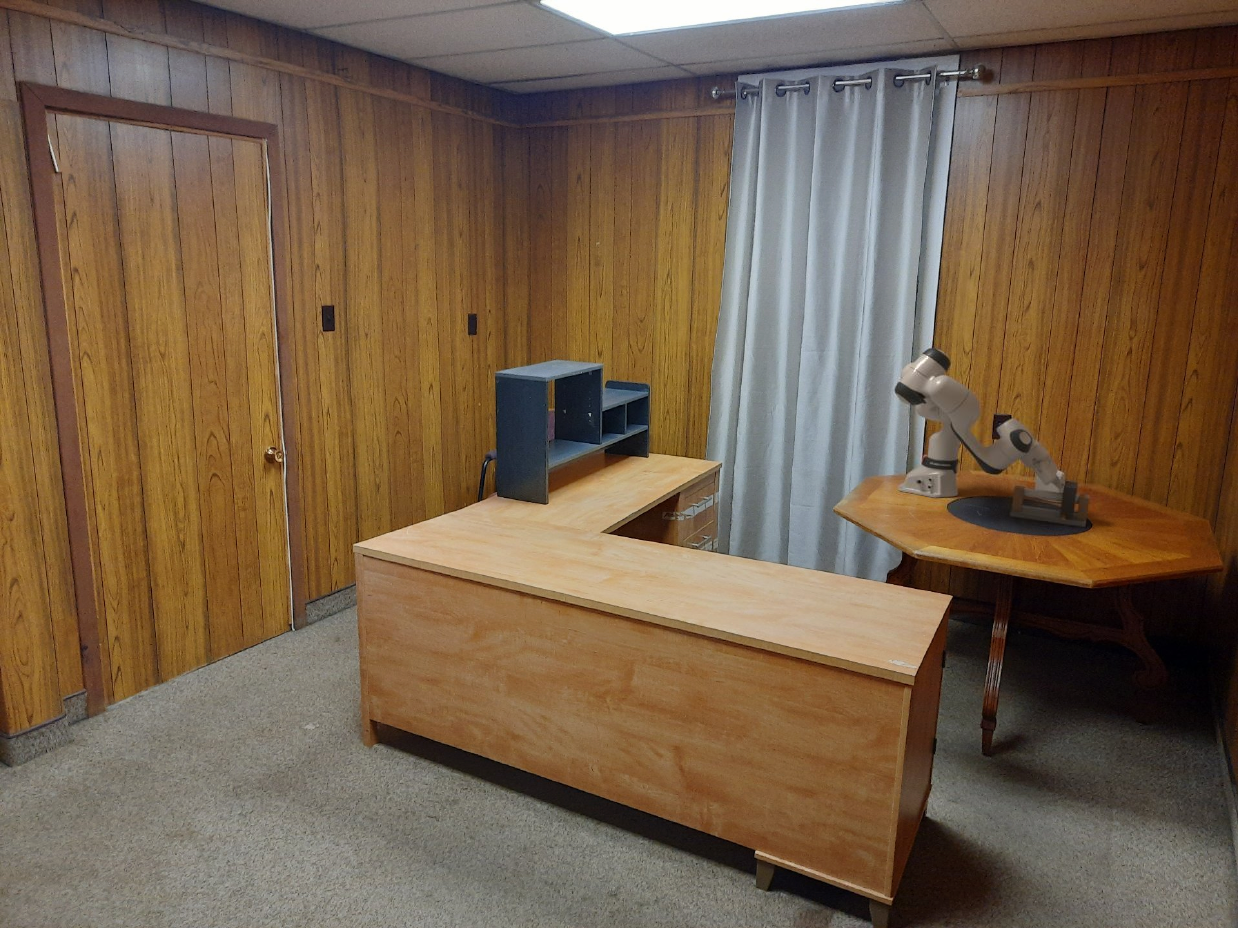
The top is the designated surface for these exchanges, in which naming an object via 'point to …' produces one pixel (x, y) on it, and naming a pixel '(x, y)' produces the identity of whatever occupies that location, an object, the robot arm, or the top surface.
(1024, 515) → the pipe rig
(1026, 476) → the top surface
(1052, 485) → the photo printer
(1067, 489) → the collar
